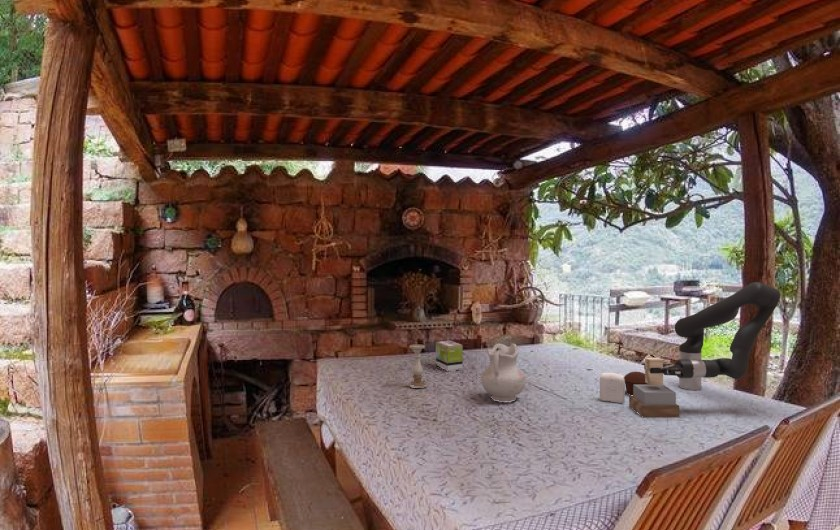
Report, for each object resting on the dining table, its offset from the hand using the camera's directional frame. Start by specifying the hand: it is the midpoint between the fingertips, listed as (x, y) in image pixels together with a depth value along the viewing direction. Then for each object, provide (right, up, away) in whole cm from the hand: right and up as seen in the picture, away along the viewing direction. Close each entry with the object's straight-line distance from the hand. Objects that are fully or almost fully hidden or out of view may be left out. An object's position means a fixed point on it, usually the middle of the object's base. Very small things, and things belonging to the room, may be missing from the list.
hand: (647, 368), depth 202 cm
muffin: (+7, -17, +25) cm, 31 cm away
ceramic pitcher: (-55, -18, +19) cm, 61 cm away
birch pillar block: (+3, -6, 0) cm, 7 cm away
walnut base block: (+2, -18, 0) cm, 18 cm away
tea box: (-76, -17, +80) cm, 111 cm away
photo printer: (-9, -17, +15) cm, 24 cm away
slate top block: (+3, -13, 0) cm, 13 cm away
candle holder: (-94, -18, +41) cm, 104 cm away
